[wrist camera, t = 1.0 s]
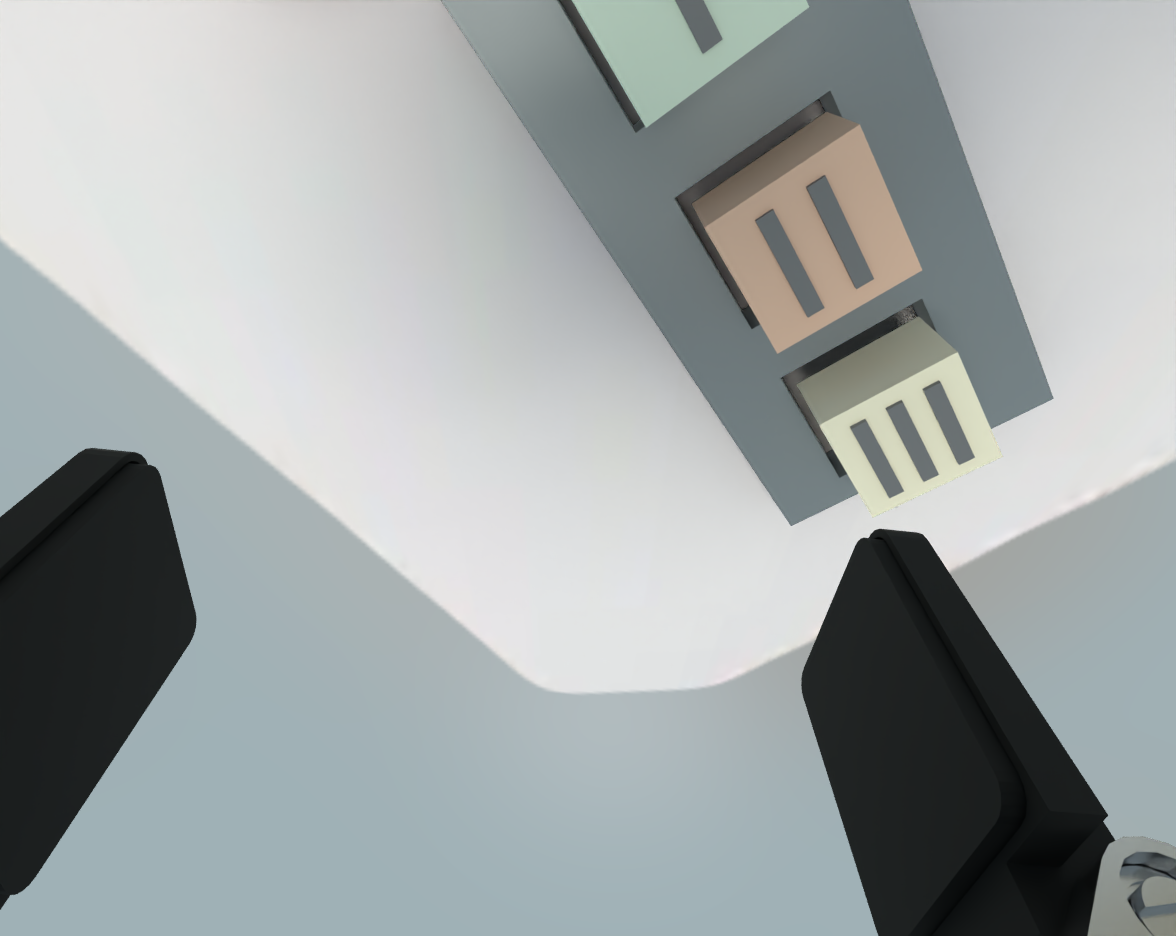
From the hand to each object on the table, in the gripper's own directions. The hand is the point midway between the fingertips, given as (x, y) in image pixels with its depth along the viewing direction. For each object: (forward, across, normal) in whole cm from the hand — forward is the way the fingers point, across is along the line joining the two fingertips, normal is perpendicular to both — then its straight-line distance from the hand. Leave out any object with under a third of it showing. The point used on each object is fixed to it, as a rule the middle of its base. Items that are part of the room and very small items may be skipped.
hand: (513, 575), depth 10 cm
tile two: (+23, -9, -1) cm, 25 cm away
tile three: (+23, -16, +7) cm, 29 cm away
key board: (+26, -9, -1) cm, 27 cm away
